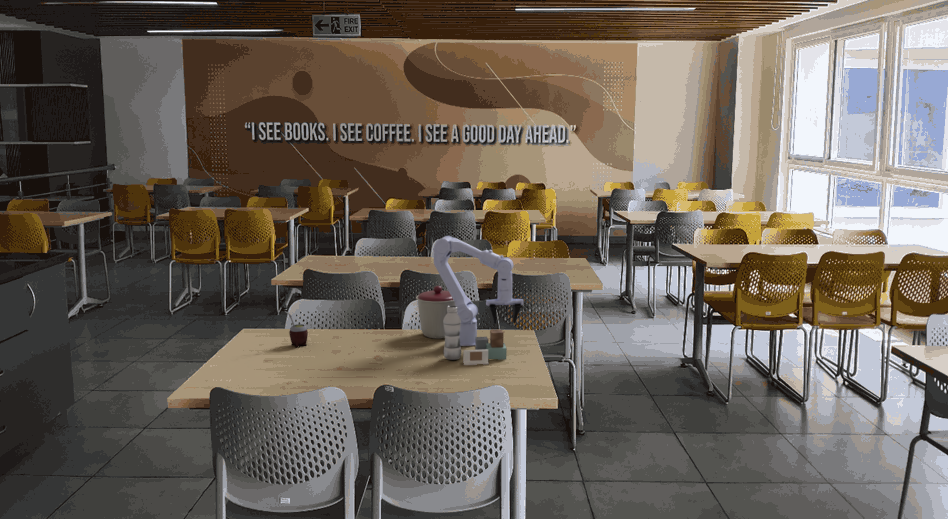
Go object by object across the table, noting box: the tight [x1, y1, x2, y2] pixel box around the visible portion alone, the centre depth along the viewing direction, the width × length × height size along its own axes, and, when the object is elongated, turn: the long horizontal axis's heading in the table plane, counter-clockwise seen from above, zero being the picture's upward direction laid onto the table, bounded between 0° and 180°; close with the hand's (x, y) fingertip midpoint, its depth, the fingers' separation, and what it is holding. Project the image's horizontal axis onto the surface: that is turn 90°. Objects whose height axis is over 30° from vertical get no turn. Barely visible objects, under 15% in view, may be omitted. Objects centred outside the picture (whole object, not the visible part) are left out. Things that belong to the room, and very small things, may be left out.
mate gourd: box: [284, 310, 309, 349], centre depth 280 cm, size 8×8×15 cm
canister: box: [415, 285, 455, 339], centre depth 295 cm, size 18×18×21 cm
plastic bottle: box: [443, 306, 463, 361], centre depth 263 cm, size 6×7×20 cm
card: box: [462, 349, 489, 366], centre depth 259 cm, size 9×3×5 cm, turn 97°
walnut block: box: [489, 329, 504, 348], centre depth 266 cm, size 4×4×6 cm
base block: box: [486, 342, 508, 360], centre depth 267 cm, size 7×7×4 cm
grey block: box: [474, 336, 489, 350], centre depth 273 cm, size 4×4×6 cm
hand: (504, 322), depth 280 cm, fingers open, 7 cm apart
